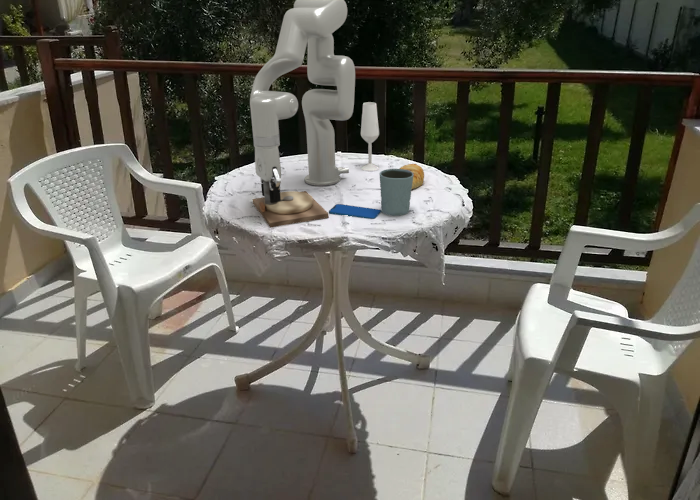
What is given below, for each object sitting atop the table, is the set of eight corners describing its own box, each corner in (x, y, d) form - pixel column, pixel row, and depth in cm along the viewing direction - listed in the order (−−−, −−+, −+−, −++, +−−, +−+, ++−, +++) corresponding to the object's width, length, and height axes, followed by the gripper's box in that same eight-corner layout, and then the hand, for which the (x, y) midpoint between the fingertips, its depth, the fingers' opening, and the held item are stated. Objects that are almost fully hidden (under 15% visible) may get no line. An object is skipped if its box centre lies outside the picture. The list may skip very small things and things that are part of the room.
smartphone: (374, 218, 176) (327, 211, 181) (374, 221, 176) (327, 214, 181) (382, 209, 182) (336, 203, 187) (381, 212, 182) (336, 206, 187)
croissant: (411, 203, 197) (422, 184, 193) (385, 188, 197) (396, 169, 193) (422, 182, 215) (433, 164, 211) (399, 168, 215) (409, 150, 211)
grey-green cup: (373, 208, 184) (373, 171, 179) (400, 202, 188) (401, 166, 183) (391, 219, 176) (391, 180, 171) (419, 212, 180) (420, 174, 175)
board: (306, 195, 196) (305, 185, 195) (328, 217, 178) (328, 207, 176) (252, 203, 190) (251, 193, 189) (270, 227, 172) (269, 216, 170)
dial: (303, 193, 192) (301, 167, 188) (320, 208, 180) (319, 180, 176) (258, 201, 187) (256, 174, 183) (273, 217, 174) (271, 188, 170)
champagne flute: (360, 166, 224) (359, 102, 214) (377, 165, 225) (377, 101, 215) (362, 171, 218) (361, 105, 208) (380, 170, 219) (380, 105, 209)
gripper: (244, 135, 177) (250, 192, 185) (264, 149, 163) (269, 209, 171) (268, 132, 180) (272, 188, 188) (289, 145, 166) (293, 205, 174)
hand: (271, 198), depth 179 cm, fingers open, 6 cm apart
